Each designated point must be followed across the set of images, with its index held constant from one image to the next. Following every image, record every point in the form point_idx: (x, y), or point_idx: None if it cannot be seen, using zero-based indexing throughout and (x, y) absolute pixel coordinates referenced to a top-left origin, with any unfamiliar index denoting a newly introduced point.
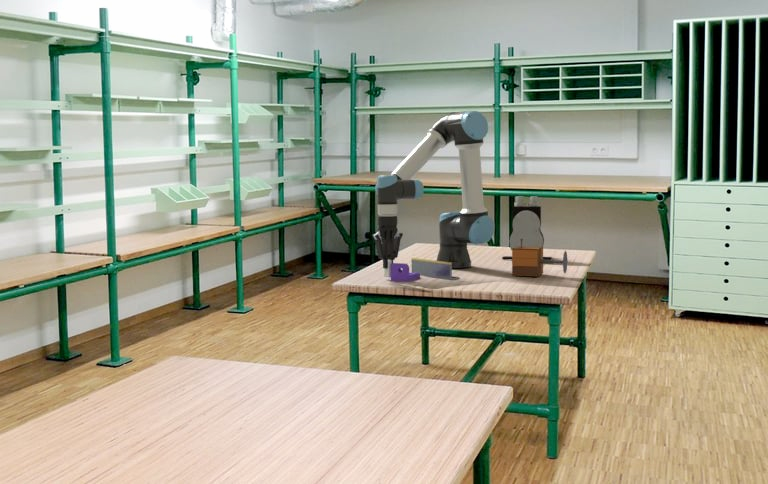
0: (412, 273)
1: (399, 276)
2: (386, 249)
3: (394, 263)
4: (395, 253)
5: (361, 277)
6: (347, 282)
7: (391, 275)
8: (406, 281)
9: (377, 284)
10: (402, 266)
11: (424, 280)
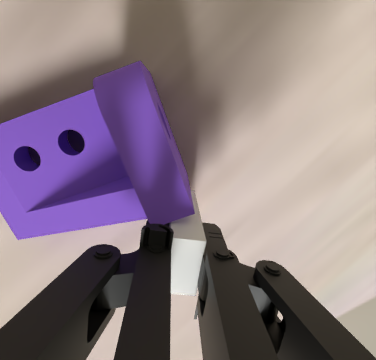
0: (23, 143)
1: (168, 125)
2: (256, 333)
3: (167, 196)
4: (105, 275)
5: (192, 353)
6: (366, 274)
7: (187, 178)
8: (151, 77)
9: (354, 111)
10: (155, 103)
11: (30, 20)
